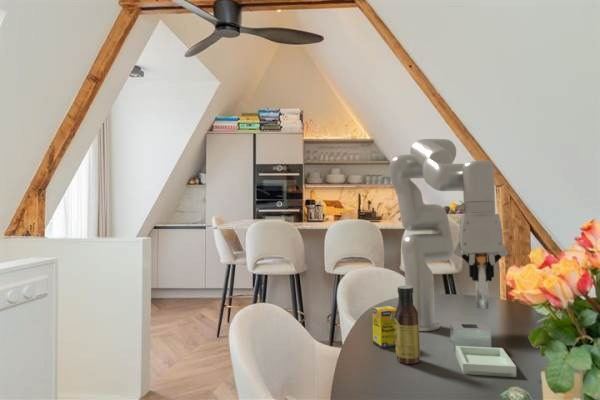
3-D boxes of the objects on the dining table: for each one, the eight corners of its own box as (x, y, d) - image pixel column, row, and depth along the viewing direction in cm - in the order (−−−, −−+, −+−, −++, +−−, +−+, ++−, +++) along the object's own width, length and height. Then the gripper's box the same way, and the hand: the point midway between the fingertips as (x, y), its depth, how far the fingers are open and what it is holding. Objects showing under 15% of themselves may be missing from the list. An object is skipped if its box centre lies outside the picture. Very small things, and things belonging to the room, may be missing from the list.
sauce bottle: (402, 355, 120) (400, 283, 120) (424, 360, 116) (422, 285, 116) (391, 362, 115) (389, 287, 115) (413, 367, 111) (411, 289, 111)
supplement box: (381, 349, 126) (380, 311, 126) (372, 343, 132) (371, 306, 132) (400, 347, 127) (399, 309, 128) (390, 341, 133) (389, 305, 133)
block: (453, 350, 123) (453, 329, 123) (450, 341, 131) (450, 321, 131) (491, 352, 121) (490, 330, 121) (485, 343, 129) (485, 323, 129)
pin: (477, 308, 110) (475, 253, 111) (475, 306, 113) (473, 252, 114) (490, 309, 110) (488, 253, 110) (487, 306, 112) (485, 252, 113)
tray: (463, 373, 106) (462, 363, 106) (455, 354, 119) (455, 345, 119) (516, 377, 103) (516, 366, 103) (502, 357, 117) (502, 348, 117)
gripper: (447, 209, 110) (450, 282, 110) (517, 208, 107) (520, 283, 106) (444, 209, 118) (446, 277, 117) (509, 208, 114) (512, 278, 113)
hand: (481, 279), depth 112 cm, fingers closed on pin, 3 cm apart
